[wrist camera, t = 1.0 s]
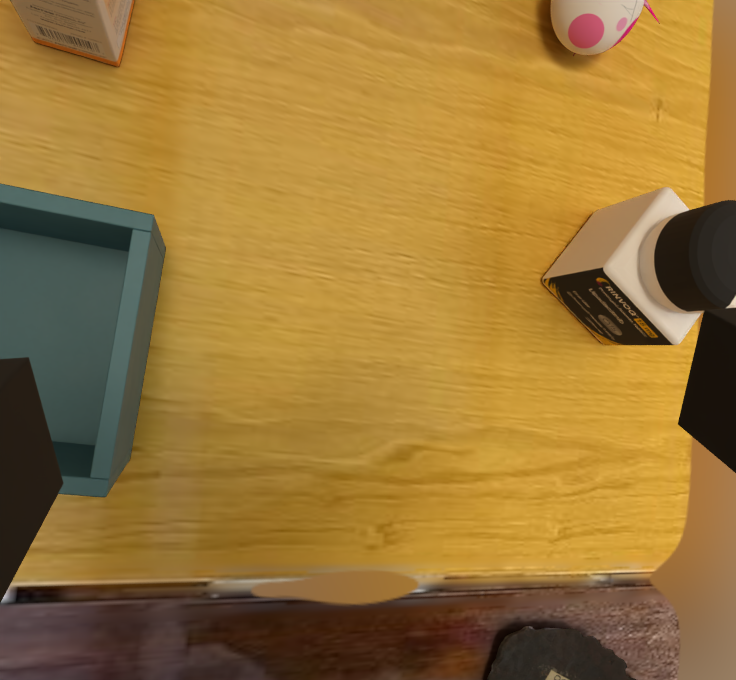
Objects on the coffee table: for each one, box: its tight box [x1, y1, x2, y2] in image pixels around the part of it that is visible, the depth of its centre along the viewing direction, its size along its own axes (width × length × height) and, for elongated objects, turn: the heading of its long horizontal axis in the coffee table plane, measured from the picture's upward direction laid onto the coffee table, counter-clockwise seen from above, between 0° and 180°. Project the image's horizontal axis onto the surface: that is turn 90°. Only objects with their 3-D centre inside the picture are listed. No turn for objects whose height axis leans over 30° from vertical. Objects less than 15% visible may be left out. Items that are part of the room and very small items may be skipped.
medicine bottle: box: [542, 187, 736, 345], centre depth 37 cm, size 7×7×12 cm
